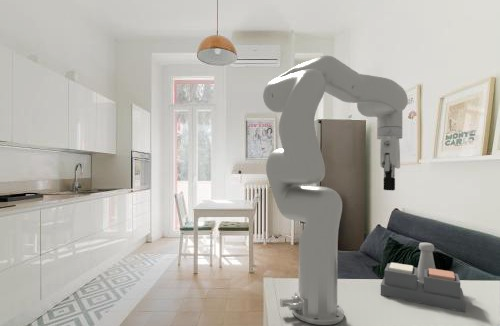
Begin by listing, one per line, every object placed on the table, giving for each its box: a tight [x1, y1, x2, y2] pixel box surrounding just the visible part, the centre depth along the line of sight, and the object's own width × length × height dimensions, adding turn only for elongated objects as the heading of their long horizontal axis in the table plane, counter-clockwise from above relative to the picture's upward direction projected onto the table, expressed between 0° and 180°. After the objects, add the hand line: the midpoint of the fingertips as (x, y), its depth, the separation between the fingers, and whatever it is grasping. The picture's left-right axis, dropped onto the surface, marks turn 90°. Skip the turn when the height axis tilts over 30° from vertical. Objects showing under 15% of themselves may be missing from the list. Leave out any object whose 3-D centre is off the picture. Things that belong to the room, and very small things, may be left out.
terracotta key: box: [429, 268, 455, 281], centre depth 84 cm, size 6×6×4 cm
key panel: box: [380, 262, 466, 313], centre depth 86 cm, size 20×10×7 cm, turn 59°
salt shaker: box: [417, 242, 437, 281], centre depth 97 cm, size 6×6×13 cm
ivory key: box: [389, 262, 414, 274], centre depth 89 cm, size 6×6×4 cm
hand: (389, 190), depth 98 cm, fingers closed
